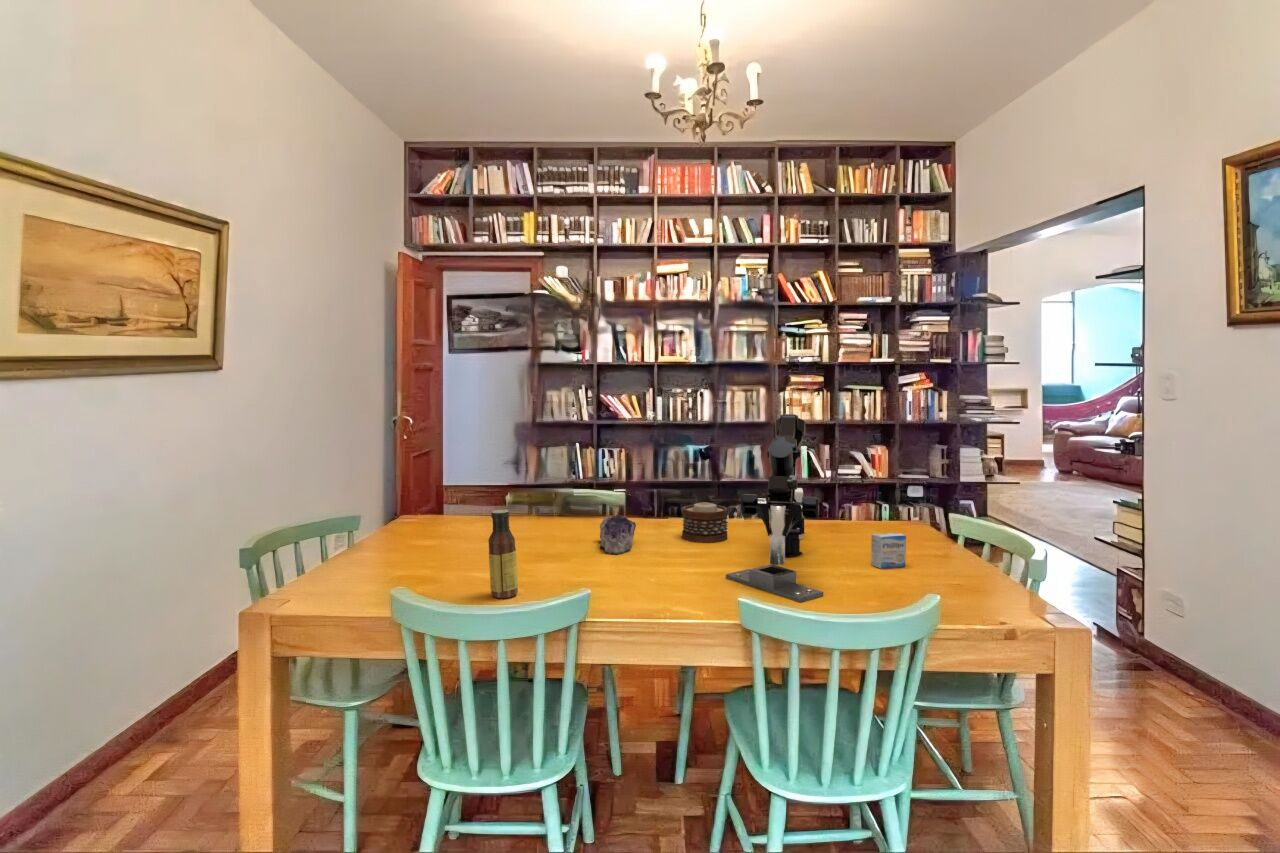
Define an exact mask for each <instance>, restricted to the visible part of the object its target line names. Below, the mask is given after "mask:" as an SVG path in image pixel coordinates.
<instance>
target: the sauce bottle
mask: <svg viewBox="0 0 1280 853" xmlns="http://www.w3.org/2000/svg"><path fill="white" fill-rule="evenodd" d="M491 519H492V532H491V533H490V535H489V538H488V541H487V542H488V563H489V584H490V585H489V586H490V593H491V596H492V597H494V598H496V599H508V598H513V597H516V596H517V595H518V592H519V591H518V590H519V588H518V586H519V583H518V580H519V579H518V569H517V568H518V566H517V565H518V564H517V548H516V540H515V536H514V535H513V533H512V531H511V529H510V521H509V520H510V510H509V509H495V510H492V511H491Z"/></svg>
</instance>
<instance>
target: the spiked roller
mask: <svg viewBox="0 0 1280 853" xmlns="http://www.w3.org/2000/svg"><path fill="white" fill-rule="evenodd" d="M681 512H682V513H681V518H682V519H683V520H682V524H681V525H682V531H681V538H682V539H683V540H684V541H687V542H690V543H696V544H717V543H722V542H726V541H727V540H728V530H729V528H728V527H729V526H728V525H729V524H728V523H730V522H728V521H727V520H728V519H729V517H728V513H729V512H728V507H726V506H723V505H718V504H715V503H712V502H707V501H706V502H703V501H702V502H698V503H694V504H689V505H685V506H683V507H682V511H681Z"/></svg>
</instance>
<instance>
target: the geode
mask: <svg viewBox="0 0 1280 853" xmlns="http://www.w3.org/2000/svg"><path fill="white" fill-rule="evenodd" d="M636 527H637V524H636V522H635V521H632V520H631V519H629V518H627V516H626V515H622V514H616V515H613V516H610V517H609V516H605V517H604V518H603V520H602V521H601V523H600V524H599V529H600V533H599V538H600V539H599V540H600V543H599V548H601V549H604V553H605V554H606V555H612V556H620V555H623V554H627V553H629V552H630V551H631V549H632V546H633V543H634V542H633V541H634V536H635V532H636Z"/></svg>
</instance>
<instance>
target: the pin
mask: <svg viewBox="0 0 1280 853" xmlns="http://www.w3.org/2000/svg"><path fill="white" fill-rule="evenodd" d="M769 511H770V512H769V519H770V536H769V565H770V564H772V565H776V566H782V565H785V564H786V557H785V520H786V506H785V505H781V504H773V505H770V509H769Z"/></svg>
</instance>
